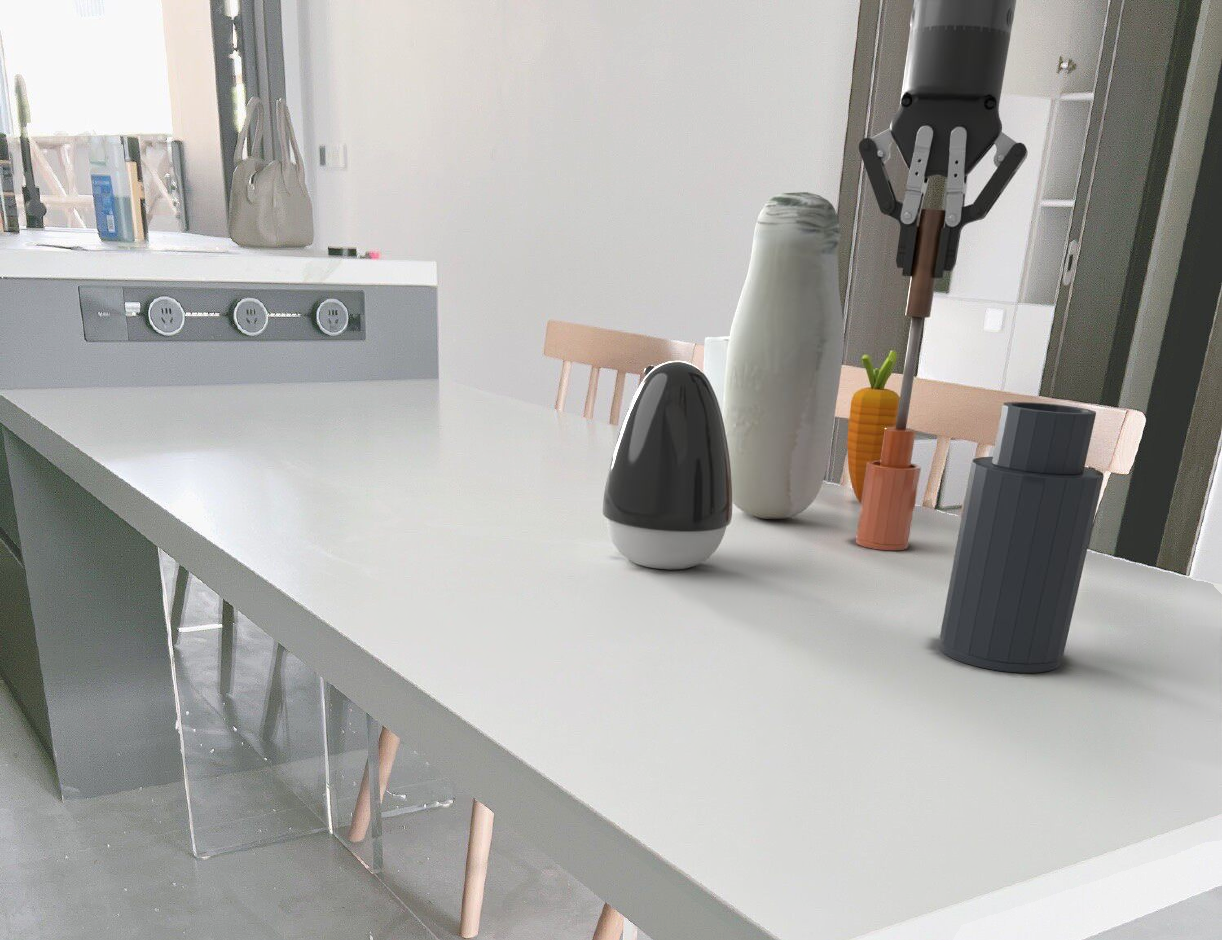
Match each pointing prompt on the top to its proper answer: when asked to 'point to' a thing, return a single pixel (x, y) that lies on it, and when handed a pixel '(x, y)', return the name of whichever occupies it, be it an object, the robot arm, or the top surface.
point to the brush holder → (887, 506)
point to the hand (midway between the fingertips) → (923, 276)
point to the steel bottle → (1023, 541)
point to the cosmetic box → (716, 365)
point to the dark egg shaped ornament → (670, 472)
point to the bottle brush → (914, 334)
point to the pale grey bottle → (785, 359)
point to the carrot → (870, 420)
